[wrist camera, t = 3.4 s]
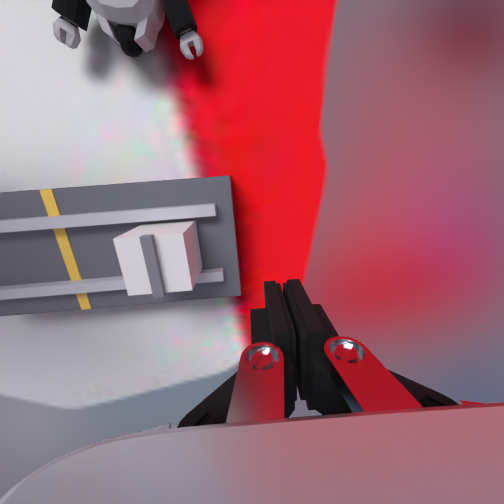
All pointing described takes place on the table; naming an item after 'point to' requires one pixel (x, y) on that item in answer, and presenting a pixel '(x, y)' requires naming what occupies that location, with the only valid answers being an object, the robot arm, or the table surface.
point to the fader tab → (159, 258)
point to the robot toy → (128, 23)
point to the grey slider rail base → (108, 242)
